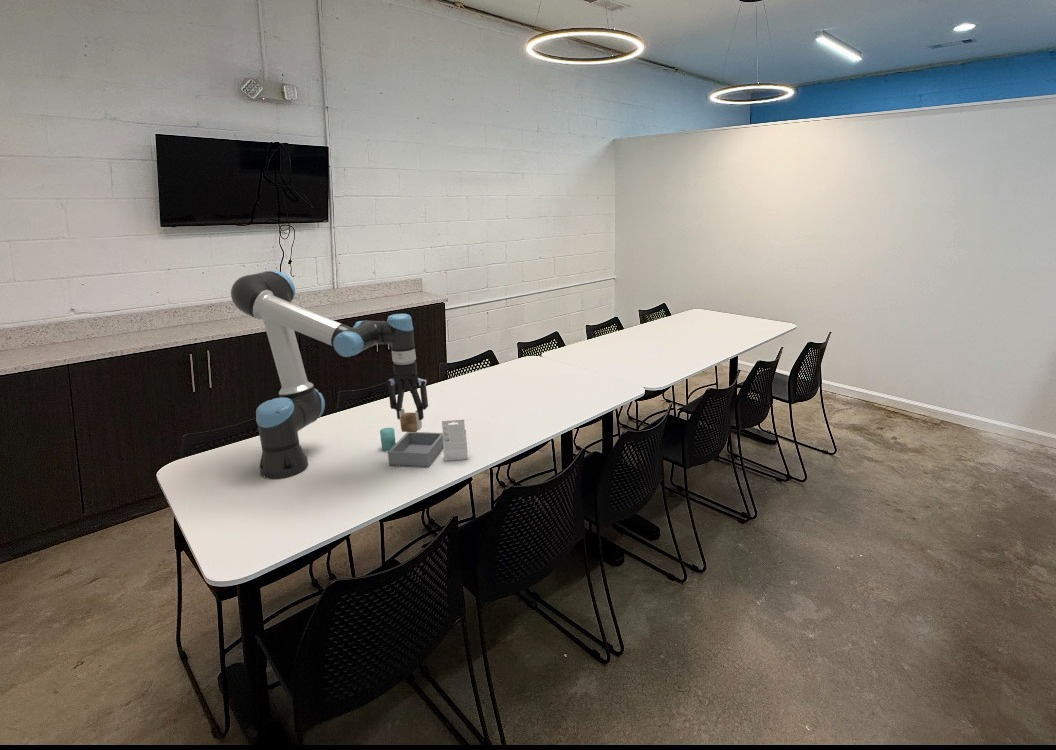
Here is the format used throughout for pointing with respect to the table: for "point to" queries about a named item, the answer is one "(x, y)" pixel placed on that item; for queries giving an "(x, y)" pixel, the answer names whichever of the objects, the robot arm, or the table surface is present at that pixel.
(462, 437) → the ink box
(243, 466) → the table surface
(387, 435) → the cylinder
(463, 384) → the table surface
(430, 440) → the tote
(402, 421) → the cube
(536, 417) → the table surface
